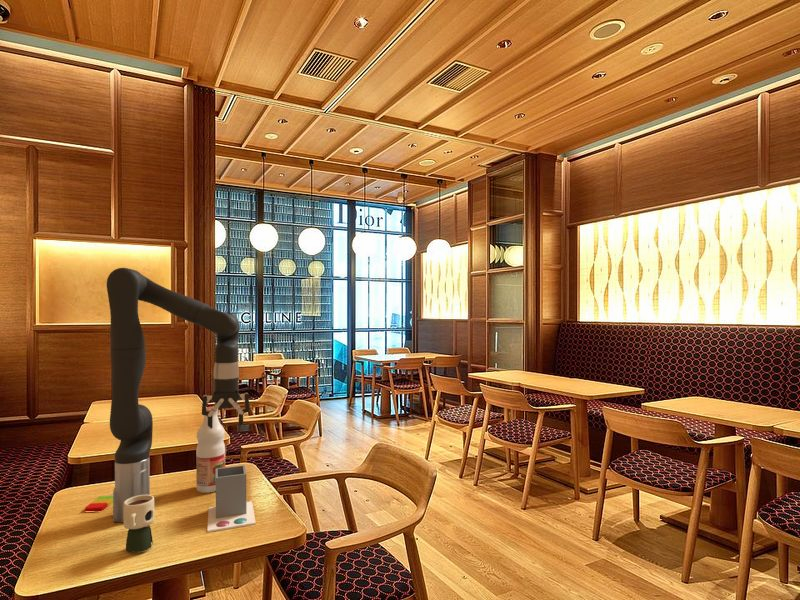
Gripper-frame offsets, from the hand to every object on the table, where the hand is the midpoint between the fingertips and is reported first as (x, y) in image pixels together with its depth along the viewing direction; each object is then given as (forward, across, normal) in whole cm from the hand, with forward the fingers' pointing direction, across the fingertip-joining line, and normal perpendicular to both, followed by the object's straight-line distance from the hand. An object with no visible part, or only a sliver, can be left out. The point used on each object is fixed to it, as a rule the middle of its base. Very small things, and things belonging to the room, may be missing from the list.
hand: (225, 426), depth 150 cm
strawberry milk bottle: (+25, -4, +17) cm, 31 cm away
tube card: (+25, +2, -9) cm, 27 cm away
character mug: (+26, -21, -21) cm, 39 cm away
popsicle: (+26, -37, +17) cm, 48 cm away
